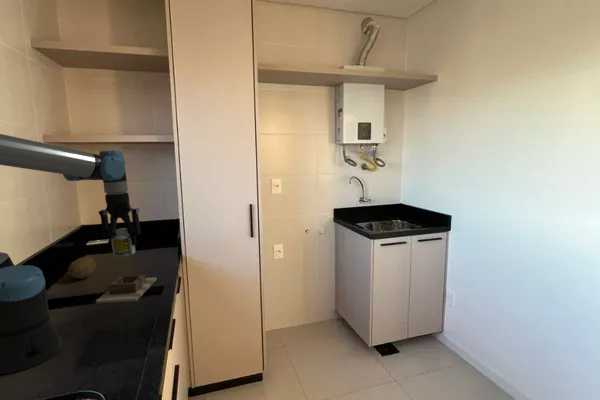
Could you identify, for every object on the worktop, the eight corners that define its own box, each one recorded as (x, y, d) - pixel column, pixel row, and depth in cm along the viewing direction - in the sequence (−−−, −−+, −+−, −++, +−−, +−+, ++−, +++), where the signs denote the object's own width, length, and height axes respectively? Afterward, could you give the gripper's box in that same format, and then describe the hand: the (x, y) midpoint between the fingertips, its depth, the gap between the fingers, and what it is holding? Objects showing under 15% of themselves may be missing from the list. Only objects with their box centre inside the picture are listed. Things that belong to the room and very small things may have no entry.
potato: (64, 284, 134) (61, 266, 133) (75, 273, 148) (73, 256, 146) (91, 281, 137) (88, 263, 136) (100, 270, 150) (98, 253, 149)
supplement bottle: (125, 257, 119) (122, 231, 118) (113, 256, 121) (109, 231, 119) (135, 252, 125) (132, 227, 123) (123, 252, 126) (120, 227, 124)
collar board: (136, 301, 117) (135, 289, 117) (96, 303, 116) (94, 291, 116) (156, 279, 137) (155, 269, 136) (122, 281, 136) (120, 271, 135)
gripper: (146, 190, 123) (153, 249, 127) (96, 192, 122) (104, 252, 126) (138, 193, 116) (145, 255, 120) (84, 195, 115) (93, 258, 119)
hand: (124, 253), depth 123 cm, fingers closed on supplement bottle, 5 cm apart
